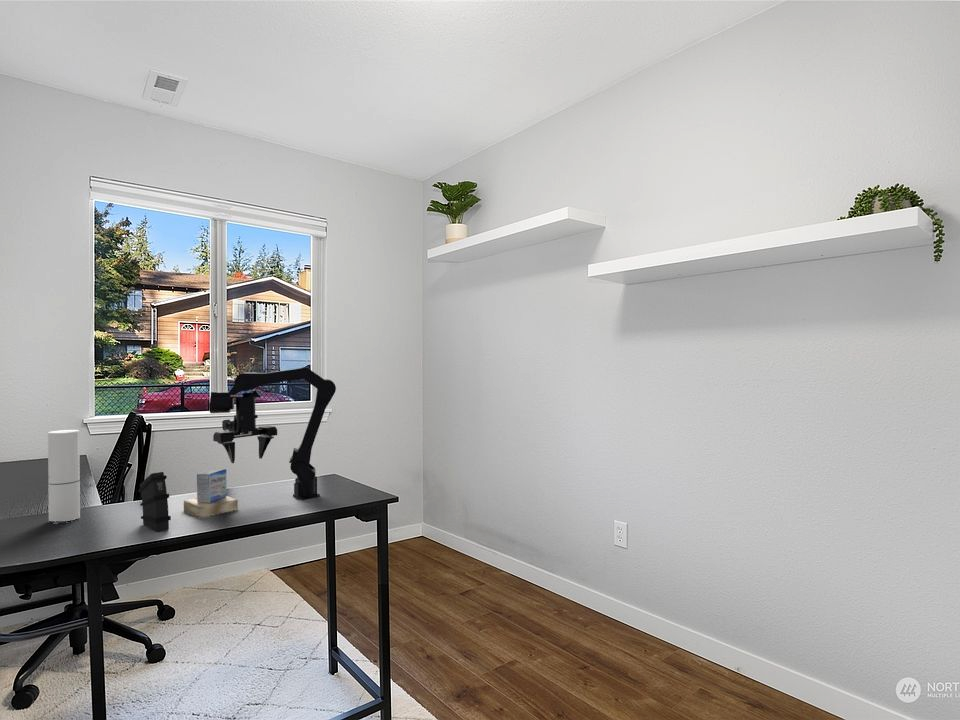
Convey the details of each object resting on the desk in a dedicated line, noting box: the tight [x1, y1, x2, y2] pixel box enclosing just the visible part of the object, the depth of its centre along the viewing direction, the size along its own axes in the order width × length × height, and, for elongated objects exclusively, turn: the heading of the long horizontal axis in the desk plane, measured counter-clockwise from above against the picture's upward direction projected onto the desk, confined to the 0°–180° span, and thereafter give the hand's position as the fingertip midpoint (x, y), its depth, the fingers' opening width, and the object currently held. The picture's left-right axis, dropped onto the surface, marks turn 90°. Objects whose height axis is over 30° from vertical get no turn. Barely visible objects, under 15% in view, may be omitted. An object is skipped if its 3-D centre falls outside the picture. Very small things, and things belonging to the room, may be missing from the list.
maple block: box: [183, 495, 239, 519], centre depth 171 cm, size 11×11×4 cm
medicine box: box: [196, 468, 228, 503], centre depth 171 cm, size 8×4×9 cm, turn 169°
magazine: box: [137, 471, 172, 533], centre depth 155 cm, size 4×13×15 cm, turn 48°
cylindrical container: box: [47, 429, 81, 522], centre depth 161 cm, size 7×7×25 cm
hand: (246, 460), depth 182 cm, fingers open, 9 cm apart
